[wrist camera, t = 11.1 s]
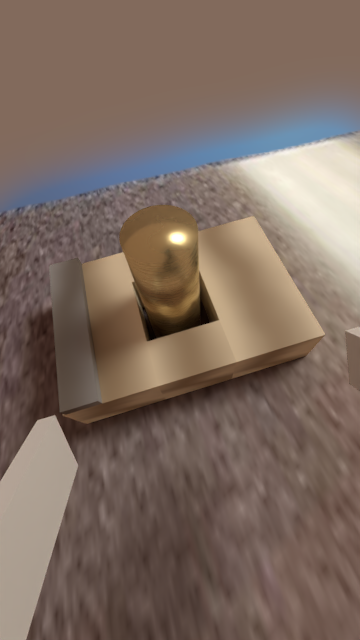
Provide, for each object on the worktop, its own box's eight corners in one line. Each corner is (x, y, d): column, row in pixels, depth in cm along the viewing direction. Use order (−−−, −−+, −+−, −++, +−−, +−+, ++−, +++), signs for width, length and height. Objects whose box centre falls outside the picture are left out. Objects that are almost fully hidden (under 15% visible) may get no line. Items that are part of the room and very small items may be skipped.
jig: (247, 247, 28) (255, 208, 24) (306, 355, 22) (329, 329, 18) (71, 297, 27) (46, 266, 23) (86, 424, 21) (56, 413, 17)
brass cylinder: (192, 298, 26) (184, 197, 16) (207, 338, 24) (209, 250, 14) (148, 311, 25) (113, 216, 16) (159, 352, 23) (127, 273, 14)
